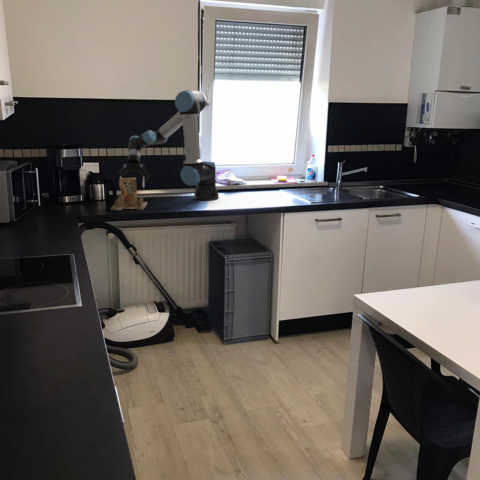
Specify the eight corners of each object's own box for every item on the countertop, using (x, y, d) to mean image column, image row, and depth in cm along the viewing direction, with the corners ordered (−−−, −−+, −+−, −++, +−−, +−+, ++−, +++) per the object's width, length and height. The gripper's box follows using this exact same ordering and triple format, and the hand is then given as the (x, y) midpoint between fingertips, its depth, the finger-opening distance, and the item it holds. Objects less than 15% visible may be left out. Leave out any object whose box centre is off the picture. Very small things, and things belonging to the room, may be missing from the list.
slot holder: (147, 203, 316) (146, 196, 315) (143, 209, 298) (142, 202, 297) (116, 204, 315) (116, 197, 314) (110, 210, 297) (110, 202, 296)
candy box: (137, 203, 309) (135, 177, 305) (137, 205, 305) (136, 178, 301) (121, 204, 307) (120, 178, 304) (121, 205, 303) (120, 179, 300)
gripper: (155, 161, 330) (153, 189, 320) (114, 162, 329) (111, 190, 318) (153, 154, 324) (152, 182, 313) (112, 154, 323) (109, 182, 312)
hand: (131, 186), depth 316 cm, fingers open, 13 cm apart
